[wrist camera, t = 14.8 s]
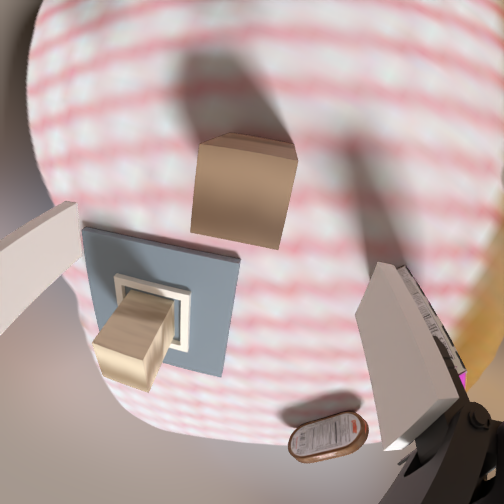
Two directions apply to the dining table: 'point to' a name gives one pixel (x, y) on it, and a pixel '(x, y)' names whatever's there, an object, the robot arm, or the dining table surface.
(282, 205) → the walnut block
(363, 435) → the tin
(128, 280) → the square frame
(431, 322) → the candy bar box
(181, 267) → the baseboard
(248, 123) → the dining table surface
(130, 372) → the birch block
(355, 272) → the dining table surface
